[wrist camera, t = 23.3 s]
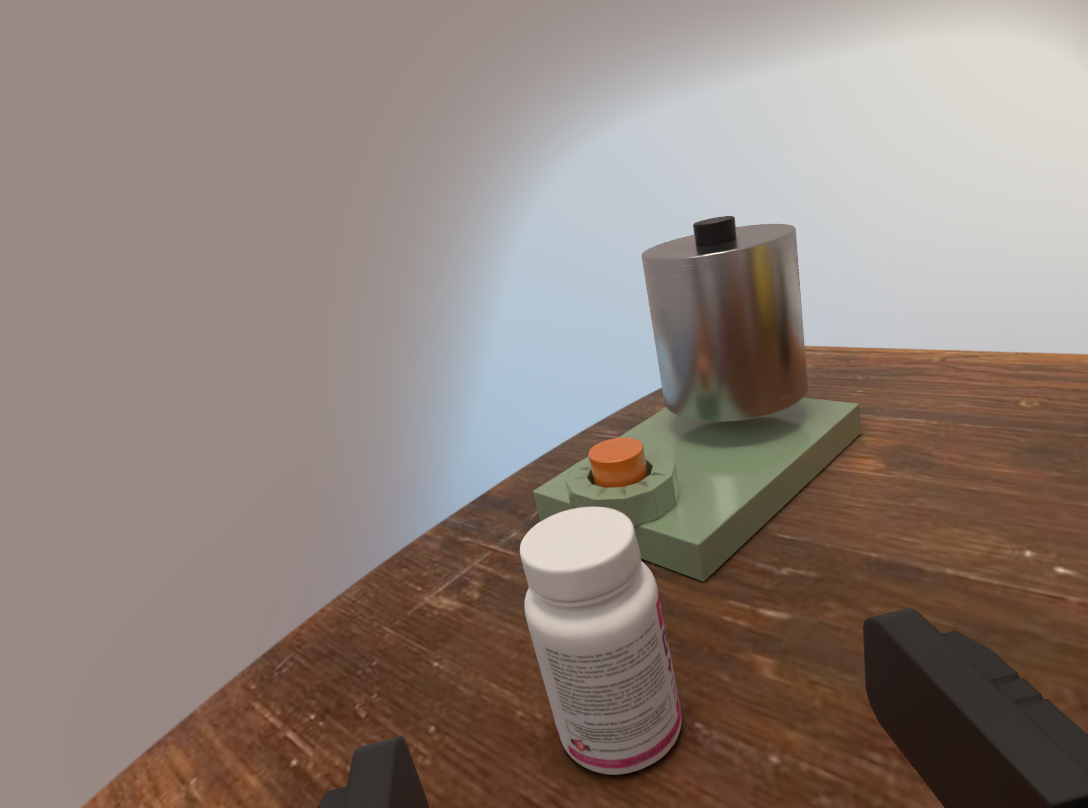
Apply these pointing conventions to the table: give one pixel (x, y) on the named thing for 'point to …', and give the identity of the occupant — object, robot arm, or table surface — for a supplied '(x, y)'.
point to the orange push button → (618, 462)
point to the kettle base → (711, 480)
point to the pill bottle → (600, 640)
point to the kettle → (728, 320)
